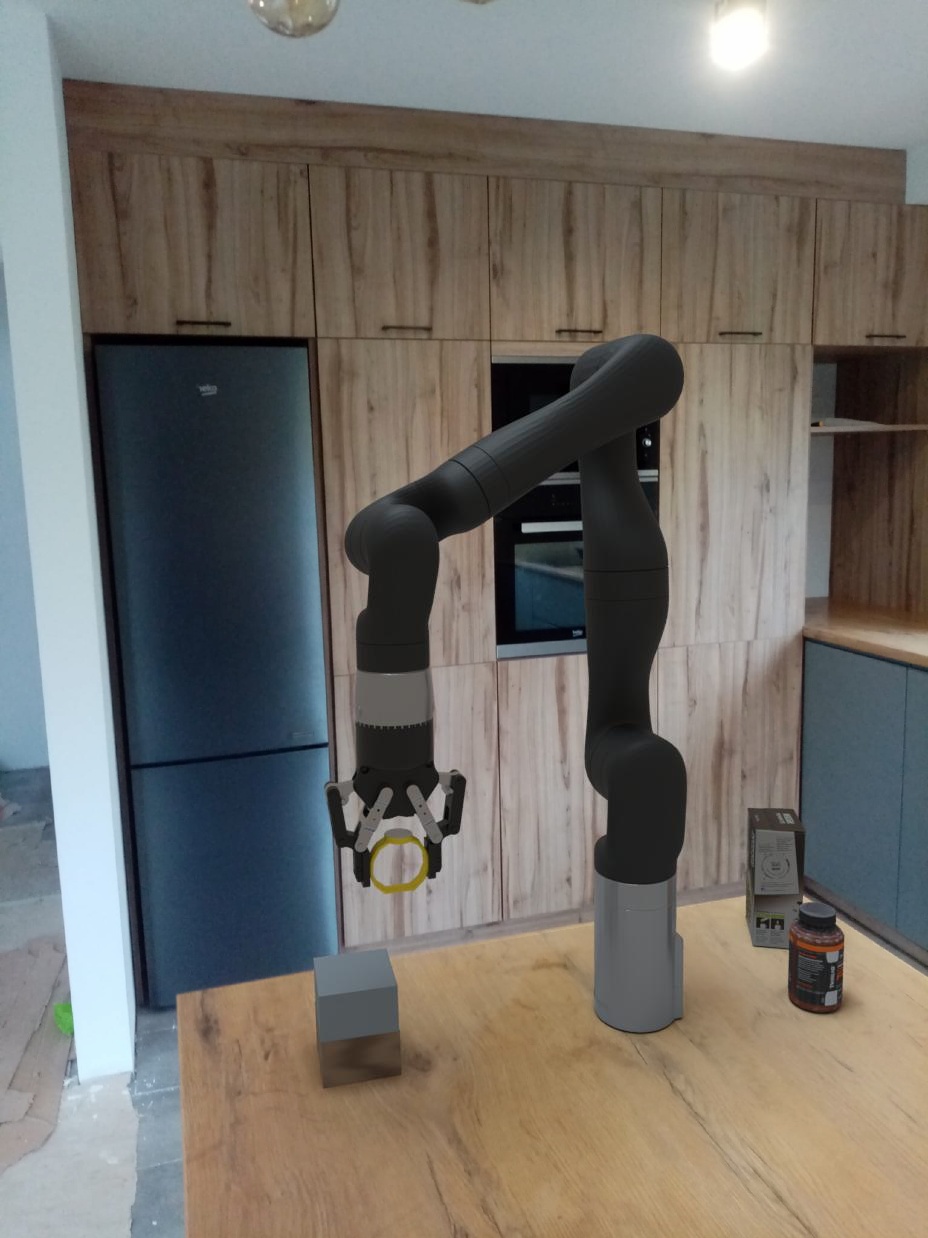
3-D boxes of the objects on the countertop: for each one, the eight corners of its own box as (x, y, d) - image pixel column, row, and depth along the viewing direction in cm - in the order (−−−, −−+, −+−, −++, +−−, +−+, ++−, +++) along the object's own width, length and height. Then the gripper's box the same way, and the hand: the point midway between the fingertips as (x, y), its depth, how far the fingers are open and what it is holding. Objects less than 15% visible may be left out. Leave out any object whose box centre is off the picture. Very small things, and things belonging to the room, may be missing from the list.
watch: (423, 883, 90) (426, 826, 89) (430, 894, 87) (433, 836, 86) (364, 887, 88) (367, 829, 87) (369, 898, 85) (372, 839, 85)
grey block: (387, 990, 99) (386, 948, 98) (399, 1031, 91) (397, 985, 90) (315, 1001, 97) (313, 958, 96) (320, 1043, 89) (318, 997, 89)
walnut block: (388, 1032, 99) (387, 990, 99) (401, 1076, 92) (399, 1031, 91) (316, 1044, 97) (315, 1001, 97) (323, 1090, 90) (321, 1044, 89)
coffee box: (803, 950, 115) (807, 831, 113) (751, 947, 116) (754, 828, 114) (792, 918, 124) (795, 807, 122) (744, 915, 125) (746, 805, 123)
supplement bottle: (848, 1017, 100) (851, 922, 99) (792, 1013, 101) (795, 919, 100) (835, 989, 106) (838, 899, 105) (783, 985, 107) (785, 896, 106)
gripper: (456, 700, 91) (458, 857, 93) (314, 710, 87) (320, 874, 89) (476, 716, 84) (478, 886, 86) (323, 728, 80) (329, 906, 82)
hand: (397, 879), depth 87 cm, fingers closed on watch, 6 cm apart
